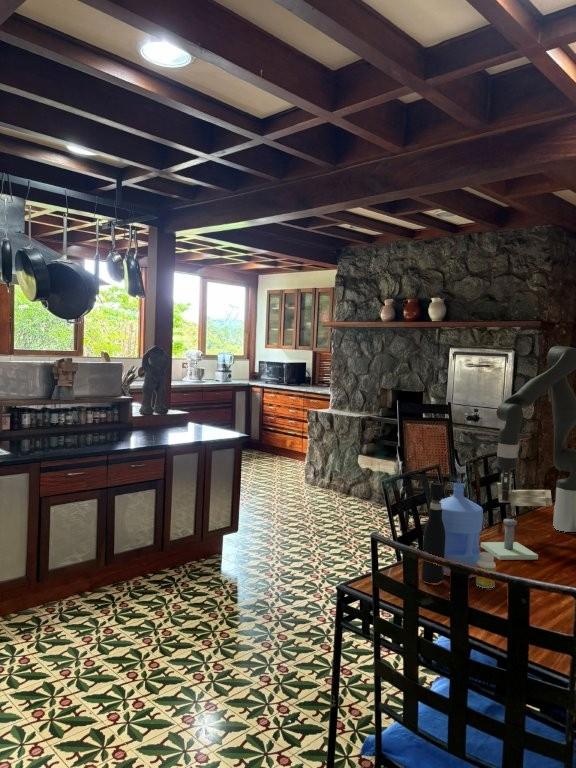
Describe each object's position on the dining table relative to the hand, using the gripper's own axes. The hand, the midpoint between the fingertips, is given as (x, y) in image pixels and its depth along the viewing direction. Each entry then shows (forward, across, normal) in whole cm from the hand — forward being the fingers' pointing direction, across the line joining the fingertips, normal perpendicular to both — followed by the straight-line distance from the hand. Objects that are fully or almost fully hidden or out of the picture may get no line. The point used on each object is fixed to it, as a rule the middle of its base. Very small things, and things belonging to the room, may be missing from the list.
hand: (505, 499), depth 226 cm
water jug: (+14, -48, +13) cm, 52 cm away
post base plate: (+14, -21, -2) cm, 25 cm away
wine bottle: (+14, -61, +18) cm, 65 cm away
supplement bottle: (+14, -57, +3) cm, 59 cm away
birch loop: (0, 0, -7) cm, 7 cm away
